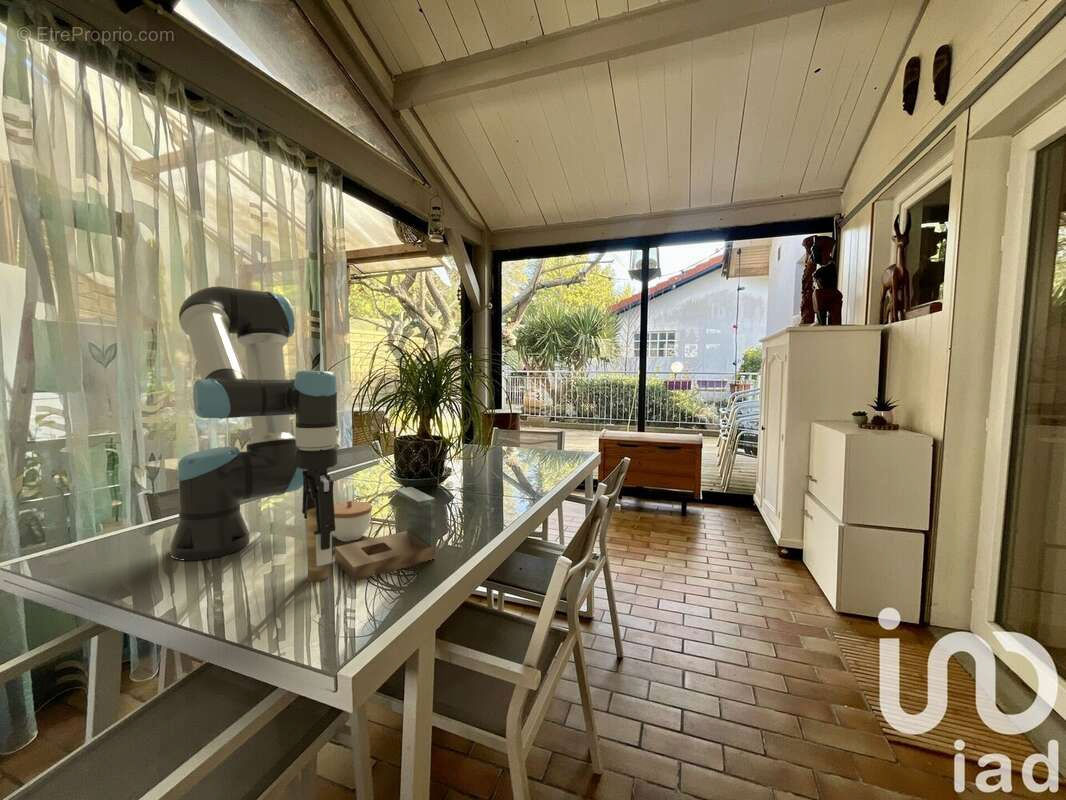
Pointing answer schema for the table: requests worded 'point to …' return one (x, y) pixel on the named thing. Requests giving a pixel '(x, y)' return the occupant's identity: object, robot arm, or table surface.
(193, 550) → the robot arm
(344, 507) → the lidded jar
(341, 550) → the socket block
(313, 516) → the oak peg
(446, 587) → the table surface
